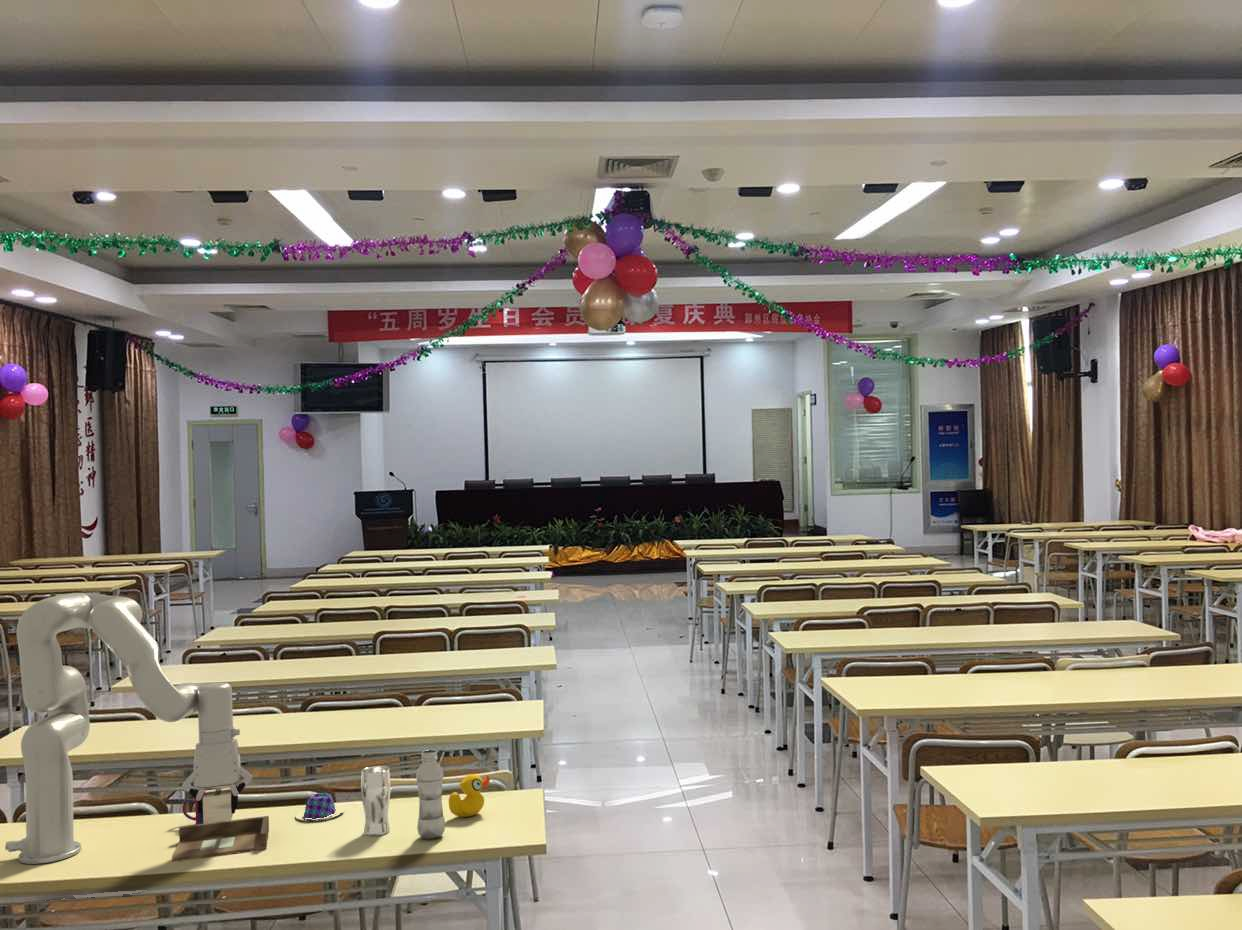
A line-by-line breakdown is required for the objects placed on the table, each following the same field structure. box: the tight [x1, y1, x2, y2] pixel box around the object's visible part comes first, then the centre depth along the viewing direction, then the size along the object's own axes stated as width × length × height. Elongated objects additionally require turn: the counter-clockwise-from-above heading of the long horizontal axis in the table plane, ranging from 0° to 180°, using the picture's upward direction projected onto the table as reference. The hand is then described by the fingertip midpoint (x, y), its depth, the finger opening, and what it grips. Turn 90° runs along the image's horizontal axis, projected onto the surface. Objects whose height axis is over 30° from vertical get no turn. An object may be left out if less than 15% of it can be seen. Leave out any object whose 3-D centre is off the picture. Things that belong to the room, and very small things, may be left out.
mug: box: [182, 793, 204, 825], centre depth 250 cm, size 7×10×7 cm
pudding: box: [295, 792, 336, 822], centre depth 254 cm, size 12×12×5 cm
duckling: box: [448, 773, 491, 818], centre depth 250 cm, size 11×5×10 cm, turn 127°
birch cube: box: [203, 787, 234, 824], centre depth 232 cm, size 6×6×6 cm
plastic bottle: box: [415, 749, 446, 840], centre depth 234 cm, size 6×7×20 cm
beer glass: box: [360, 765, 392, 837], centre depth 239 cm, size 7×7×15 cm
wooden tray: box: [171, 815, 270, 862], centre depth 233 cm, size 20×14×4 cm
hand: (218, 813), depth 232 cm, fingers closed on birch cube, 6 cm apart
